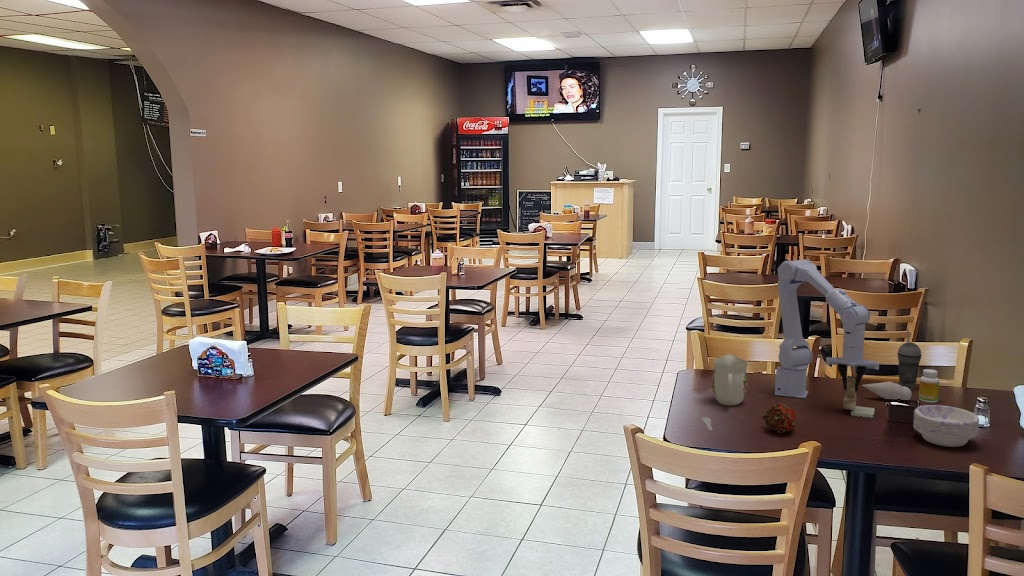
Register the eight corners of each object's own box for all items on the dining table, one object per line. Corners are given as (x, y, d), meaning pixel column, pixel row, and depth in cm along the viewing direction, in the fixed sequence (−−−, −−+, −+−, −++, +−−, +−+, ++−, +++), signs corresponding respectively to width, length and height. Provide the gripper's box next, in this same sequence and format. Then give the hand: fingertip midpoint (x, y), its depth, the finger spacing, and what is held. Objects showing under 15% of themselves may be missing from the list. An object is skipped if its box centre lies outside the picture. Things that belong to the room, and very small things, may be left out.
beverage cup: (909, 392, 252) (914, 332, 249) (890, 386, 258) (894, 328, 256) (924, 389, 255) (928, 330, 252) (904, 383, 262) (908, 326, 259)
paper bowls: (950, 455, 196) (953, 425, 195) (899, 436, 210) (901, 408, 209) (990, 446, 202) (993, 417, 201) (938, 429, 216) (940, 401, 215)
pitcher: (710, 410, 235) (711, 366, 233) (711, 394, 252) (712, 353, 250) (747, 413, 232) (749, 368, 230) (746, 396, 249) (748, 355, 247)
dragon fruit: (780, 443, 210) (773, 435, 221) (806, 427, 208) (799, 419, 220) (761, 417, 211) (756, 411, 222) (788, 400, 209) (781, 395, 221)
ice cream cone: (857, 397, 246) (907, 407, 243) (863, 390, 241) (914, 400, 238) (858, 380, 249) (908, 390, 246) (864, 372, 244) (915, 382, 241)
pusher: (843, 408, 229) (845, 379, 228) (845, 402, 236) (847, 373, 235) (854, 409, 228) (856, 380, 227) (855, 403, 235) (857, 374, 234)
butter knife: (710, 417, 228) (700, 417, 228) (723, 445, 204) (712, 445, 204) (710, 418, 228) (700, 418, 228) (723, 447, 204) (712, 446, 204)
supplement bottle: (937, 403, 239) (940, 373, 238) (918, 401, 242) (920, 371, 240) (938, 399, 244) (940, 369, 242) (919, 397, 246) (921, 367, 245)
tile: (851, 412, 229) (873, 414, 226) (852, 405, 235) (874, 408, 232) (850, 416, 229) (872, 419, 226) (852, 410, 235) (874, 413, 232)
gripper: (826, 346, 229) (823, 390, 231) (879, 350, 222) (876, 396, 224) (828, 341, 235) (825, 384, 237) (880, 346, 229) (877, 390, 231)
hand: (850, 389), depth 231 cm, fingers closed on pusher, 2 cm apart
